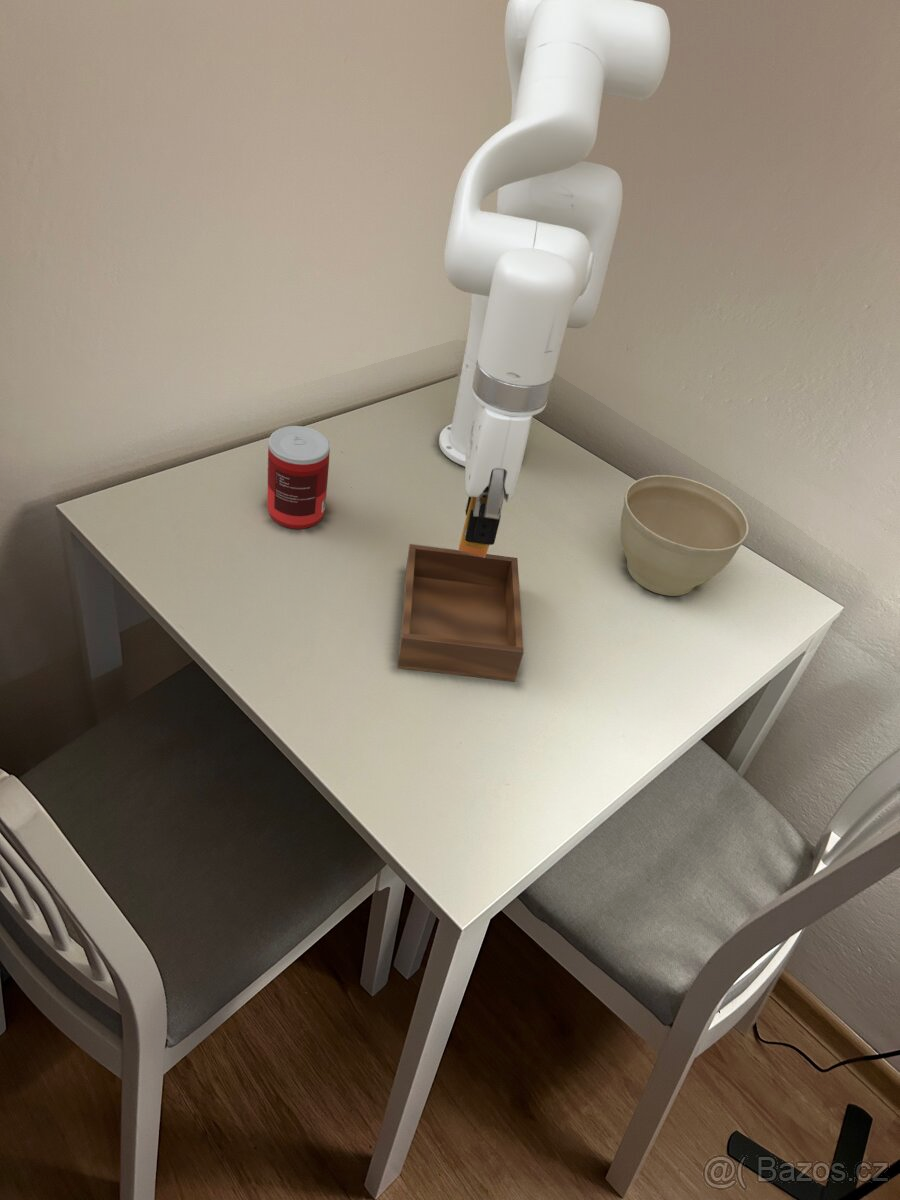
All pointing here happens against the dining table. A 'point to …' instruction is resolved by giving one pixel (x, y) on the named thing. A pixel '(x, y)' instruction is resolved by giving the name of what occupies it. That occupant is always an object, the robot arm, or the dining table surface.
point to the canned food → (297, 476)
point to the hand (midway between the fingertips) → (479, 527)
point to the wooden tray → (461, 614)
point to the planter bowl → (678, 533)
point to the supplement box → (469, 546)
